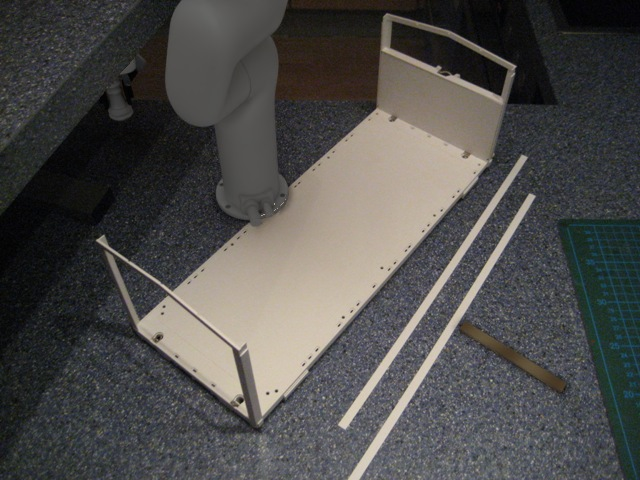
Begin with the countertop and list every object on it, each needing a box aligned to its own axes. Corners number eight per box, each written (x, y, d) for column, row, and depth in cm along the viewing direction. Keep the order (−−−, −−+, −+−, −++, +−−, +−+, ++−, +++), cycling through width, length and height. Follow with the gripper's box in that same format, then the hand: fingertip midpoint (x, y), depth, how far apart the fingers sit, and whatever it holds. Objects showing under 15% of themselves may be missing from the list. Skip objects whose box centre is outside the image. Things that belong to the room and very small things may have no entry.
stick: (565, 385, 86) (567, 383, 85) (560, 393, 85) (561, 391, 84) (464, 322, 92) (465, 320, 92) (458, 330, 91) (459, 327, 91)
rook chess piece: (131, 122, 115) (119, 85, 109) (107, 122, 115) (94, 85, 109) (136, 107, 118) (125, 70, 112) (113, 107, 118) (101, 71, 112)
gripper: (35, 29, 97) (73, 124, 111) (142, 12, 100) (165, 106, 114) (35, 7, 102) (71, 100, 116) (137, -10, 105) (160, 83, 118)
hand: (118, 102), depth 114 cm, fingers closed on rook chess piece, 3 cm apart
